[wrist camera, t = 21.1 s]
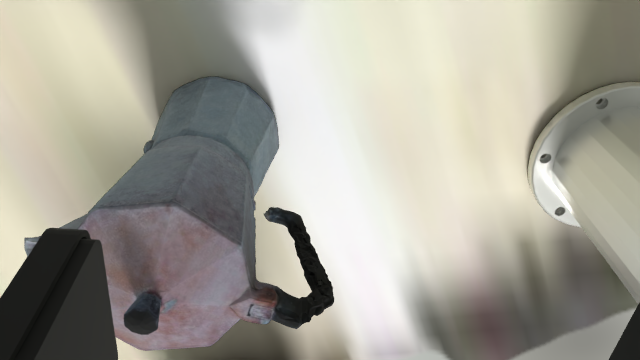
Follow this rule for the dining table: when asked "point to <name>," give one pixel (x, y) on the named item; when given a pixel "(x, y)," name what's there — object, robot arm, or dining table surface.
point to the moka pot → (198, 225)
